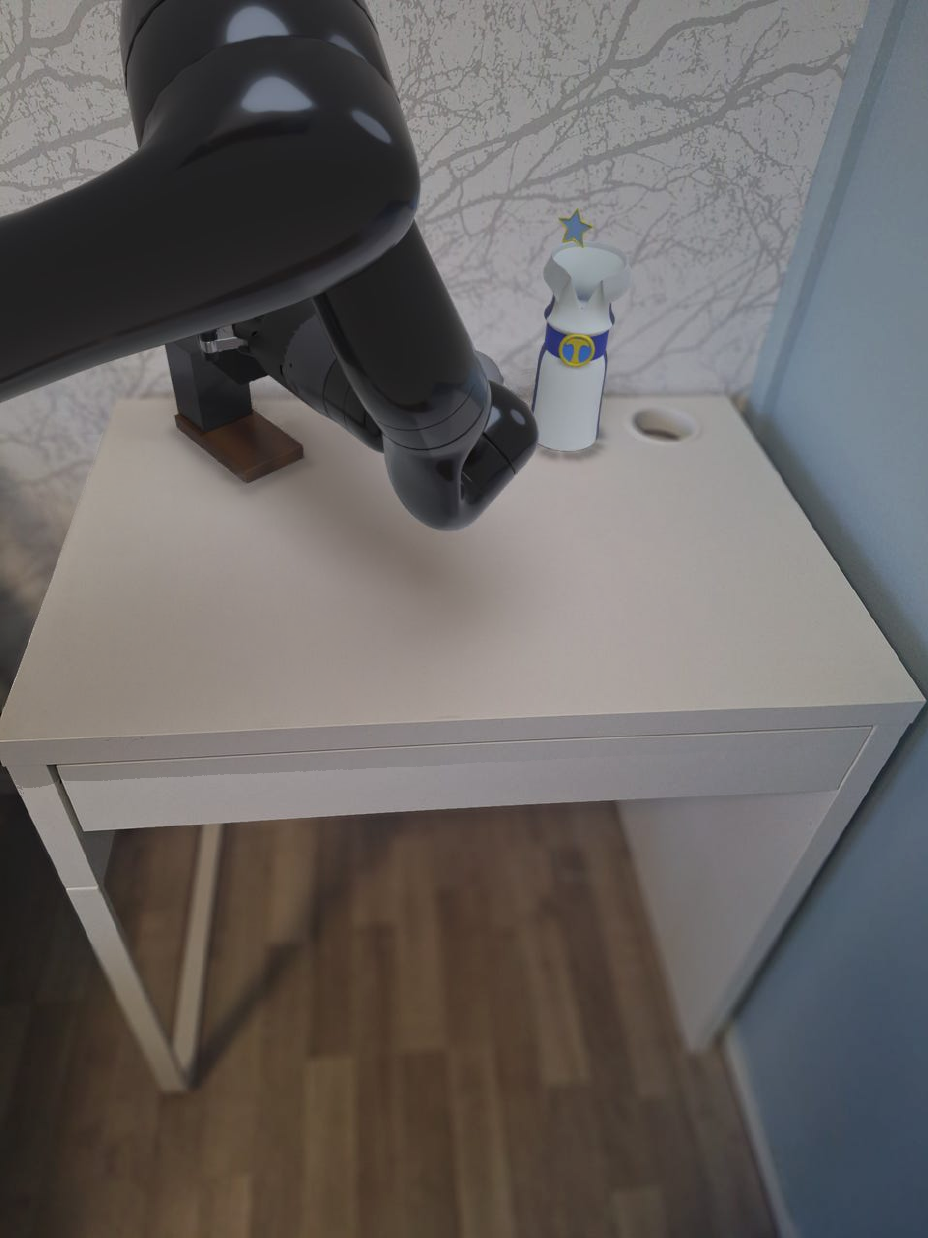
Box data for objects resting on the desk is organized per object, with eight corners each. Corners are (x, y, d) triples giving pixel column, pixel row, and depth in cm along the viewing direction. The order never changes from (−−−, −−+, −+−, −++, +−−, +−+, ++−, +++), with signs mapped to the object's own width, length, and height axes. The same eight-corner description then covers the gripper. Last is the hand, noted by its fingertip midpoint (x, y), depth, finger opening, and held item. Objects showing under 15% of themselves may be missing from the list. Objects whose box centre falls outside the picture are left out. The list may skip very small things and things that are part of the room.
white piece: (604, 457, 97) (649, 216, 79) (523, 449, 97) (551, 208, 80) (603, 414, 103) (645, 182, 85) (527, 407, 103) (553, 174, 86)
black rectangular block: (240, 385, 81) (224, 287, 75) (211, 363, 84) (195, 266, 78) (278, 372, 83) (267, 274, 77) (250, 350, 86) (236, 255, 80)
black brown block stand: (247, 483, 91) (233, 389, 83) (176, 427, 97) (157, 335, 90) (304, 457, 94) (296, 365, 87) (232, 404, 101) (219, 314, 93)
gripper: (400, 288, 72) (282, 219, 81) (240, 340, 65) (131, 258, 74) (401, 375, 77) (290, 300, 86) (254, 431, 70) (150, 344, 80)
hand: (217, 281), depth 80 cm, fingers closed on black rectangular block, 4 cm apart
